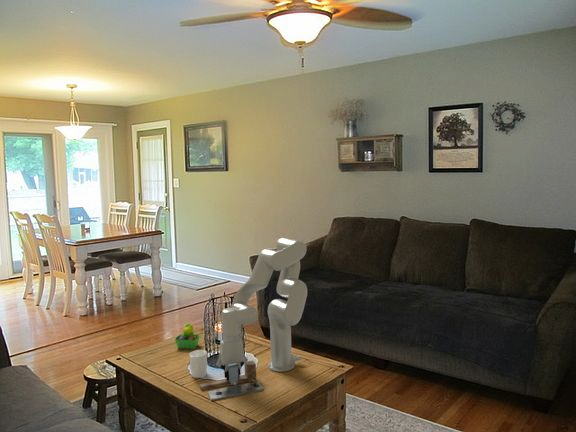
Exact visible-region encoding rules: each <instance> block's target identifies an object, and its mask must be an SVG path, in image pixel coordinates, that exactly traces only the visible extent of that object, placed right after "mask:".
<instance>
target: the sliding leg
mask: <svg viewBox="0 0 576 432" xmlns="http://www.w3.org/2000/svg"><path fill="white" fill-rule="evenodd" d="M228 371H229V380H228V381H229V382H230V384H231V385H230V386H232V385H233V386H237V384H238V385H239V383H238V366H237V364H236V363H234V364H229V365H228Z"/></svg>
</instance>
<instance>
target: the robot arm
mask: <svg viewBox="0 0 576 432" xmlns="http://www.w3.org/2000/svg"><path fill="white" fill-rule="evenodd" d="M275 248H276V249H271V248H270V249H269V248H264V249H262V250H261V251H260V253H259V254H258V257H257V259H256V262H255V264H254V266H253V269H252V272H251V274H250V277H249V279H248V280H246V282H244V284H243V285H242V286H241V287H240V288H239V289H237V292H236V294H235V296H234V298H233V300H232V303H231V305H230V307H227V308H224V309H222V311H221V333H222V334H221V336H222V337H221V338H222V339H221V340H220V342H219V352H218V353H219V355H218V360H217V361H216V363H215V366H216V367H218V368H221V369H222V370H223V373H224V379H227V380H229V371H228V365H229V364H235V363H236V365H237V366H238V378H240V377H241V376H242V375H241V371H242V370H241V369H242V367H243V366H245V363H246V362H247V361H249V359H248V357H247V356H246V355H245V352H244V344H243V340H242V338H241V337H243V336H244V332H241V331H240V328H241V327H240V326H241V325H252V324H254V323H256V321H257V320H258V318H259V311H258V310H257V309H256V308H255V307H253V306H251V305H249V304H248V302H249V300H250V298H251V297H252V296H253V295H254V294H255V293H256V292H258V291H261V290H263V289H265V288H267V287H268V285H269V282H270V280H271V277H272V275H273V272H274V271H278V272H280V274H279V277H278V281H277V284H276V293H277V294H278V295H279V296H281V297H282V298H285V299H287V300H284V299H281V298H276V299H272V300H271V301H270V303H269V304H268V306H267V316H268V320H269V329H270V330H269V331H270V332H269V333H270V334H269V335H270V361H268V363H267V368H268V369H269V370H270V371H273V372H280V373H281V372H282V373H283V372H289V371H291V370H293V369H294V368H295V367H296V361H302V356H301V355H298V356H297V354H292V327H291V326H295V325H298V323H299V322H300V320H301V319H302V315H303V313H304V309H305V305H306V301H307V297H308V287H307V284H306V283H305V282H304V281H302V280H301V279H299V276H300V271H301V261H300V260H302V259H303V258H304V257H305V255H306V253H307V249H308V247H307V245H306V243H305V242H303V241H302V240H299V239H294V238H291V237H290V238H289V237H280V238H279V239H277V241H276V244H275Z"/></svg>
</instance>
